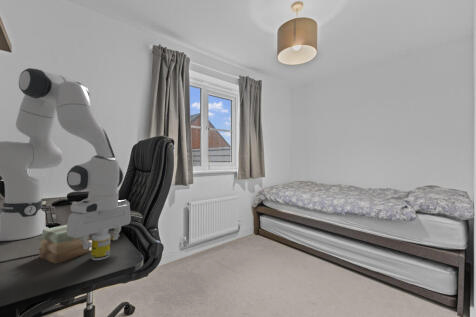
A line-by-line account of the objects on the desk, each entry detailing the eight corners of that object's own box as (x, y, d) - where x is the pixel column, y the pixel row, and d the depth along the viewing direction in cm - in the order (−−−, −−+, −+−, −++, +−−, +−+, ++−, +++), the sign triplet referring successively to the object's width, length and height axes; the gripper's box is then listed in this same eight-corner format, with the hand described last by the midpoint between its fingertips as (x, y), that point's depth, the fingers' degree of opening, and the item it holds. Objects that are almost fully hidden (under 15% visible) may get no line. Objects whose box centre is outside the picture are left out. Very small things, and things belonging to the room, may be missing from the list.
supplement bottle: (89, 256, 75) (91, 227, 75) (108, 252, 78) (109, 225, 78) (91, 262, 70) (93, 231, 71) (111, 258, 74) (112, 228, 74)
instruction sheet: (73, 245, 83) (73, 244, 83) (90, 240, 89) (90, 239, 89) (90, 250, 79) (90, 250, 79) (107, 245, 85) (107, 244, 85)
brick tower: (38, 257, 73) (40, 229, 73) (72, 247, 82) (73, 222, 82) (56, 263, 68) (57, 234, 69) (88, 252, 78) (90, 226, 78)
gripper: (123, 198, 85) (122, 233, 85) (64, 206, 67) (62, 252, 66) (135, 199, 83) (133, 236, 82) (77, 208, 64) (74, 256, 64)
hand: (101, 243), depth 74 cm, fingers open, 8 cm apart
